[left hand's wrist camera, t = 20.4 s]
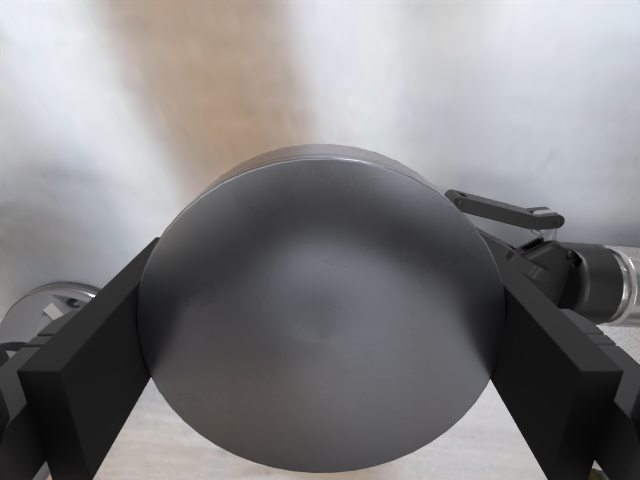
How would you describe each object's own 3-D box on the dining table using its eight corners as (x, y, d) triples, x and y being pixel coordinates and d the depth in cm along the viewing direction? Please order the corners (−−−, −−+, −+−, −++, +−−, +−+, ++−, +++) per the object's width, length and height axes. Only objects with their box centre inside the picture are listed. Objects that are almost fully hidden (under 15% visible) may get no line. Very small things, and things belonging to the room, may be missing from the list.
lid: (406, 447, 14) (419, 502, 12) (141, 382, 13) (112, 431, 11) (535, 204, 11) (578, 229, 9) (199, 94, 10) (172, 97, 8)
